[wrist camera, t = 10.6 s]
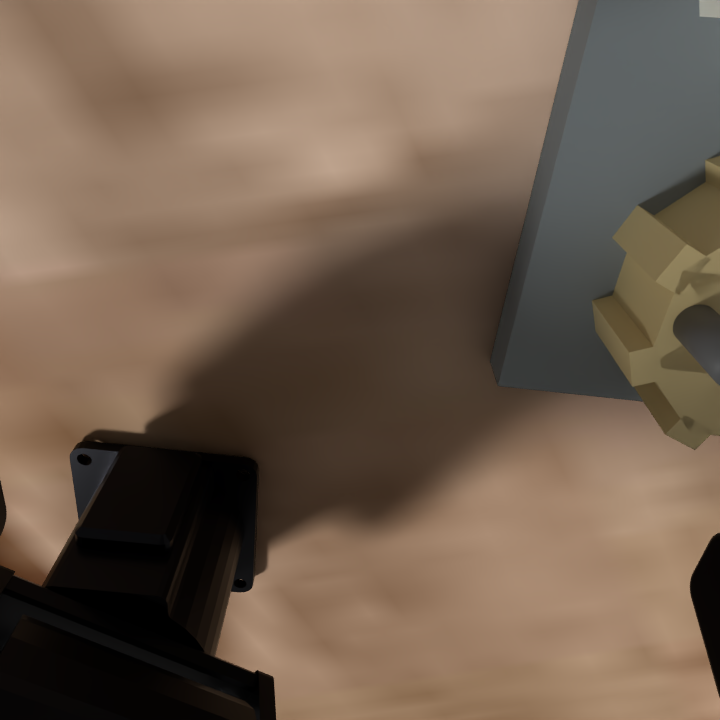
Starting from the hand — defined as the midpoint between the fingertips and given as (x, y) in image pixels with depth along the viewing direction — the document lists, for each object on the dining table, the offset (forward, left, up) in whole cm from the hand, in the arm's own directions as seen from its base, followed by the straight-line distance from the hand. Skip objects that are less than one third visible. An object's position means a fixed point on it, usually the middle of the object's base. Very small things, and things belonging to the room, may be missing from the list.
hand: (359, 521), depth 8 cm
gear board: (+4, -10, -12) cm, 16 cm away
